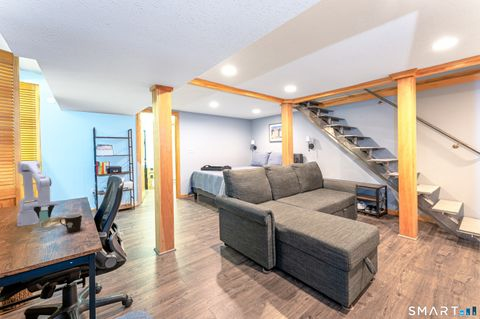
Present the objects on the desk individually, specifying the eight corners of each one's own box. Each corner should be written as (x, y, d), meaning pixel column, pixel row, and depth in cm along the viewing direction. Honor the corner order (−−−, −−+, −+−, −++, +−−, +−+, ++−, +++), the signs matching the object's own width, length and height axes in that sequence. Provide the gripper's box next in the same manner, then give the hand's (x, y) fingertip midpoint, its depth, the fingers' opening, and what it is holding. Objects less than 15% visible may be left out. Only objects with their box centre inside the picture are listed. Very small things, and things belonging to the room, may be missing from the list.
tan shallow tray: (41, 228, 134) (41, 223, 134) (46, 223, 144) (46, 218, 144) (66, 224, 141) (66, 219, 141) (69, 220, 150) (69, 215, 150)
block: (39, 221, 129) (39, 212, 129) (41, 219, 132) (41, 210, 132) (48, 220, 131) (47, 211, 131) (49, 218, 134) (49, 209, 134)
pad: (29, 234, 125) (29, 233, 125) (34, 229, 132) (34, 228, 132) (49, 231, 129) (49, 230, 129) (53, 226, 137) (53, 226, 137)
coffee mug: (85, 229, 132) (85, 214, 132) (71, 234, 124) (70, 218, 124) (73, 227, 136) (73, 212, 135) (58, 232, 128) (58, 216, 127)
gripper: (25, 199, 124) (26, 221, 124) (57, 196, 131) (57, 217, 132) (30, 197, 130) (30, 218, 130) (59, 194, 137) (60, 214, 138)
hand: (44, 217), depth 132 cm, fingers closed on block, 4 cm apart
